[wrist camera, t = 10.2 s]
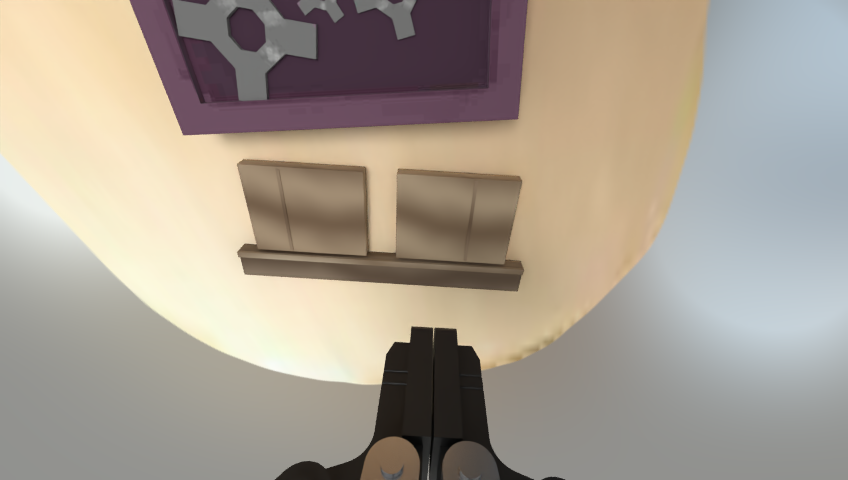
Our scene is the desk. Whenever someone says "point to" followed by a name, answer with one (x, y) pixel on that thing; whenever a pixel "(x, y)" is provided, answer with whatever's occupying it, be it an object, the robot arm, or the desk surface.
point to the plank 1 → (306, 206)
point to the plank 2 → (455, 215)
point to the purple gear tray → (335, 61)
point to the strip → (381, 269)
